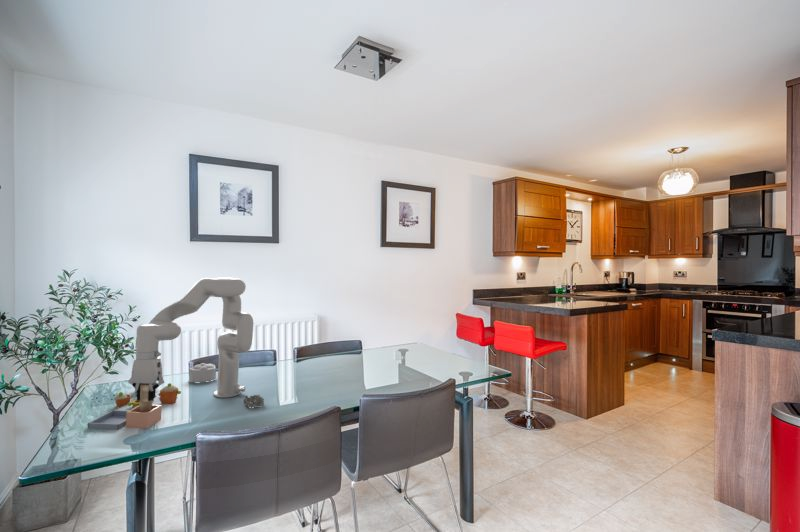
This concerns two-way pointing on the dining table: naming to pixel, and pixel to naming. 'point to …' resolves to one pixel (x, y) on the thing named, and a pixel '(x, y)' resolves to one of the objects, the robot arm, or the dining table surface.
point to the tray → (110, 420)
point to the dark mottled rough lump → (253, 400)
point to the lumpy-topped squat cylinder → (202, 373)
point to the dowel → (144, 398)
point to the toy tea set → (166, 395)
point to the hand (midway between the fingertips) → (145, 398)
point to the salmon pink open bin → (143, 417)
